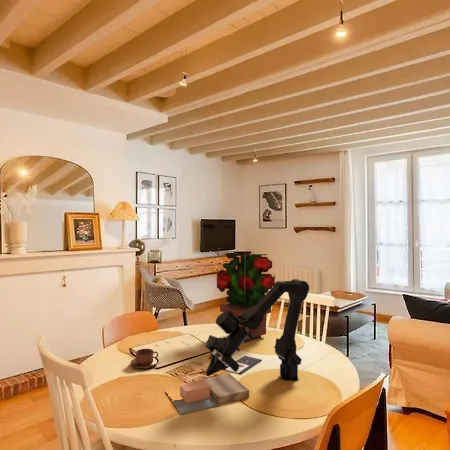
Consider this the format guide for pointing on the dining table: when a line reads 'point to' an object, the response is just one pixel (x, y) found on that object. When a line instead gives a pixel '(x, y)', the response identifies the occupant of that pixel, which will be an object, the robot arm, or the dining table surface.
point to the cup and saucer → (144, 358)
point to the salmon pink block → (194, 391)
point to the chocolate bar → (244, 364)
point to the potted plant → (246, 286)
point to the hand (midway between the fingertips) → (206, 375)
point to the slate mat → (194, 405)
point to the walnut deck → (226, 388)
